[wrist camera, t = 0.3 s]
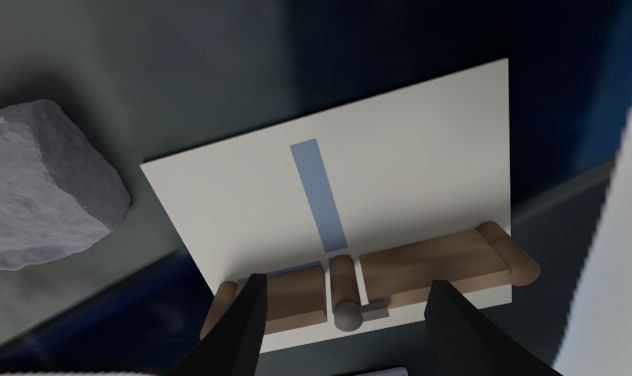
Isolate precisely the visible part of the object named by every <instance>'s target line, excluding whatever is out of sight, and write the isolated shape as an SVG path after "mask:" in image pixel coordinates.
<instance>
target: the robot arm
mask: <svg viewBox="0 0 632 376" xmlns="http://www.w3.org/2000/svg"><path fill="white" fill-rule="evenodd" d="M267 311H268V299H267V274H261V273H252V274H251V275H250V276H249V278H248V280H247V282H246V283H245V285H244V286H243V288H242V290H241V291H240V293H239V294H238V296H237V297H236V298H235V300H234V301H233V302H232V304H231V305H230V307H229V308H228V309H227V311H226V312H225V313H224V314H223V316H222V317H221V318H220V319H219V320H218V322H217V323H216V324H215V325H214V327H213V328H212V329H211V330H210V331H209V332H208V333H207V334H206V336H205V337H204V338H203V339H202V340H201V341H200V342H199V343H198V344H197V345H196V346H195V347H194V348H193V349H192V350H191V351H190V352H189V353H188V354H187V355H186V356H185V357H184V358H183V359H182V360H180V361H179V362H178V363H177V364H176V365H175V366H174V367H173V368H171V369H170V370H169V371H168V372H167V373H165V374H164V375H163V376H254V374H255V370H256V366H257V362H258V358H259V354H260V350H261V345H262V341H263V337H264V333H265V326H266V318H267ZM424 317H425V321H426V325H427V329H428V332H429V336H430V339H431V342H432V344H433V347H434V349H435V352H436V354H437V357H438V359H439V361H440V364H441V366H442V369H443V371H444V374H445V376H563V375H562V374H560V373H559V372H557V371H556V370H554V369H553V368H551V367H549V366H548V365H547V364H545V363H544V362H542V361H541V360H539V359H538V358H537V357H535V356H534V355H533V354H531V353H530V352H529V351H527V350H526V349H525V348H523V347H522V346H520V345H519V344H518V343H517V342H515V341H514V340H513V339H512V338H510V337H509V336H508V335H507V334H506V333H504V332H503V331H502V330H501V329H500V328H498V327H497V326H496V325H495V324H494V323H493V322H492V321H490V320H489V319H488V318H487V317H486V316H485V315H484V314H483V313H482V312H480V311H479V310H478V309H477V308H476V307H475V306H474V305H473V304H472V303H471V302H470V301H469V300H468V299H467V298H466V297H464V296H463V295H462V294H461V293H460V292H459V291H458V290H457V289H456V288H455V287H454V286H453V285H452V284H451V283H450V282H449V281H447V280H433V281H432V285H431V289H430V293H429V296H428V300H427V304H426V307H425V311H424ZM355 376H408V373H407V369H406V368H405V367H398V368H392V369H387V370H382V371H376V372H371V373H365V374H360V375H355Z"/></svg>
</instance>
